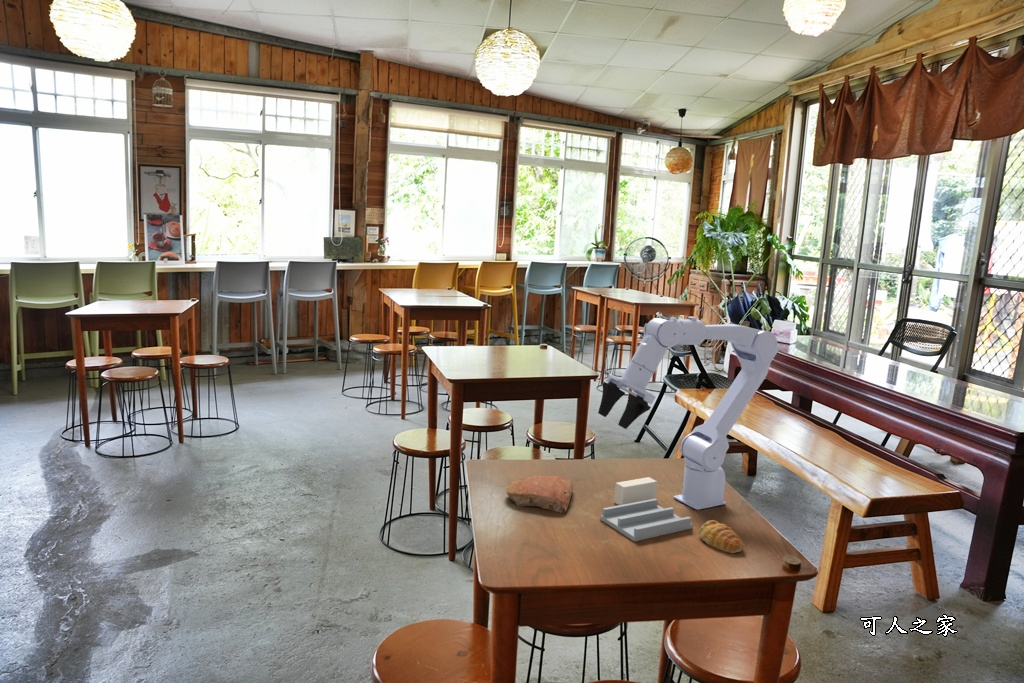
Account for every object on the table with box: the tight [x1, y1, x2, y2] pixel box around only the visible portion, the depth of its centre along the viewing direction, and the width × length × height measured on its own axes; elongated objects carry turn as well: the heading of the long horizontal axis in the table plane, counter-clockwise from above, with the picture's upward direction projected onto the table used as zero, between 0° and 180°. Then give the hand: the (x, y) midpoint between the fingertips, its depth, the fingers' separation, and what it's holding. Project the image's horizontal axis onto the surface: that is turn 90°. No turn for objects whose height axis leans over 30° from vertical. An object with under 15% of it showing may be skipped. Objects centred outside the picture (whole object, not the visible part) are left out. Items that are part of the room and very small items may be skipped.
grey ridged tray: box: [599, 498, 693, 542], centre depth 150 cm, size 16×12×2 cm
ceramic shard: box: [506, 475, 574, 514], centre depth 162 cm, size 15×6×15 cm
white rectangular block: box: [613, 476, 658, 506], centre depth 162 cm, size 10×3×5 cm, turn 120°
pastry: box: [698, 519, 744, 554], centre depth 142 cm, size 9×7×4 cm
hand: (611, 421), depth 153 cm, fingers open, 7 cm apart
